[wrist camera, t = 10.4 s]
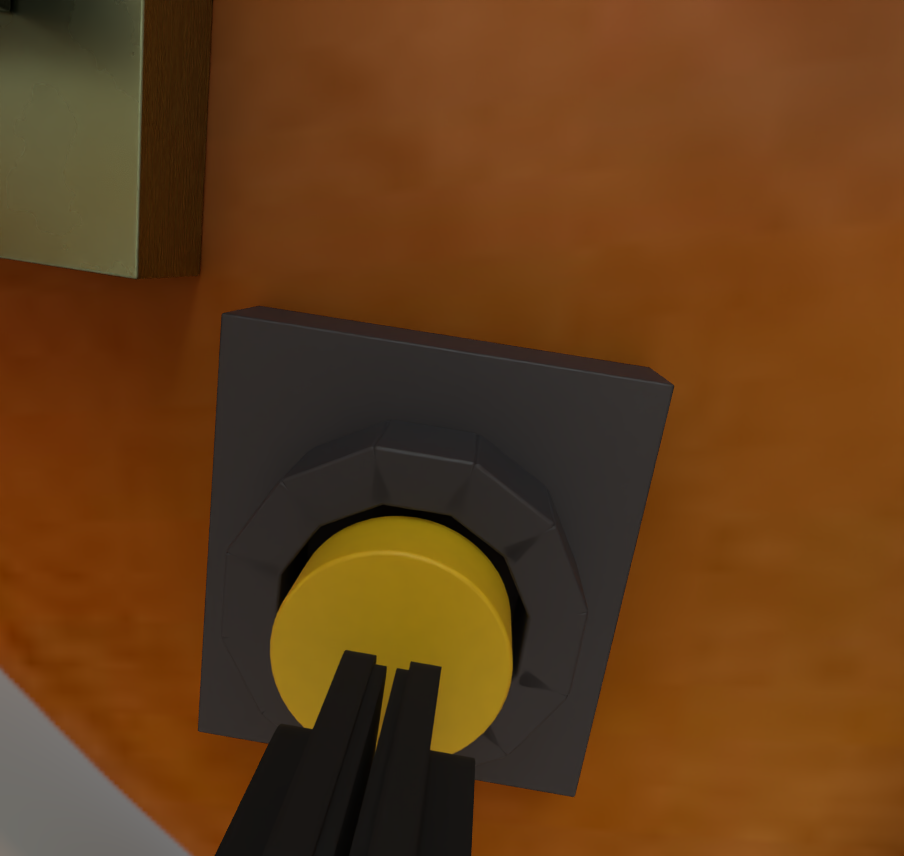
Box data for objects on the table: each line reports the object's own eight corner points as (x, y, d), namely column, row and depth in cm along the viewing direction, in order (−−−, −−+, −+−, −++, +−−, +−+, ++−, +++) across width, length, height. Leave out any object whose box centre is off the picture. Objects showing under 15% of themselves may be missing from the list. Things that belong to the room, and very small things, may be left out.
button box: (257, 305, 17) (172, 322, 12) (651, 367, 16) (707, 407, 12) (231, 677, 19) (154, 799, 15) (565, 735, 19) (586, 875, 15)
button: (305, 497, 13) (278, 531, 12) (529, 534, 13) (533, 574, 12) (286, 689, 15) (259, 746, 13) (491, 724, 14) (491, 785, 13)
